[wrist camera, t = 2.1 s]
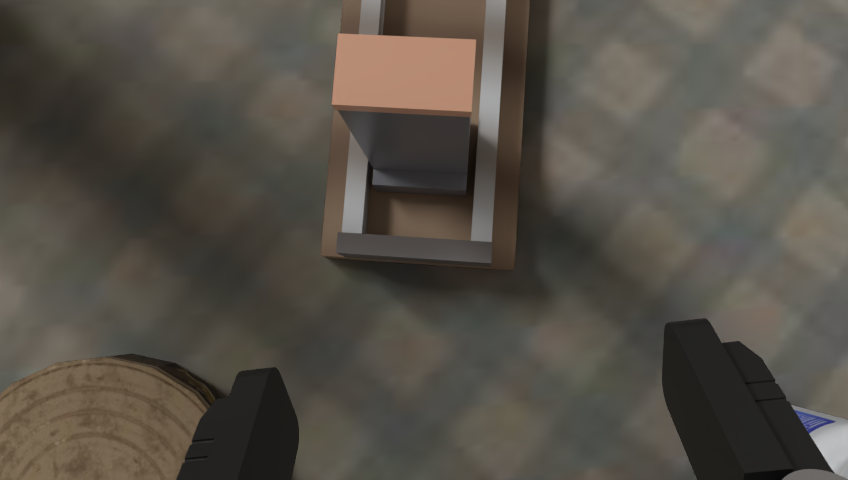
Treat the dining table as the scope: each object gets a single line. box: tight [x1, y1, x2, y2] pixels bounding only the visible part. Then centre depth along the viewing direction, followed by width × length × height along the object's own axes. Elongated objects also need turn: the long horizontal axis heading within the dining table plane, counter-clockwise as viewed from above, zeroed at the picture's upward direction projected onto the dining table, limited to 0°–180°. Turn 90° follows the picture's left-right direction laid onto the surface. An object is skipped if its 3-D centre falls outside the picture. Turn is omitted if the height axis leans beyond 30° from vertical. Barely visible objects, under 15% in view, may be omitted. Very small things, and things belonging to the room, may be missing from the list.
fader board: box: [320, 0, 530, 270], centre depth 34 cm, size 22×10×4 cm, turn 176°
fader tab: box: [332, 33, 476, 197], centre depth 27 cm, size 4×5×12 cm
